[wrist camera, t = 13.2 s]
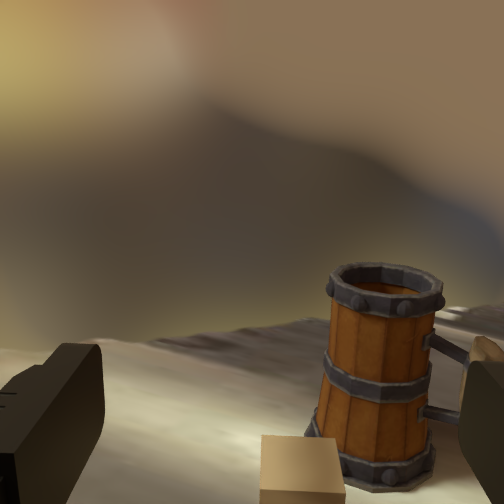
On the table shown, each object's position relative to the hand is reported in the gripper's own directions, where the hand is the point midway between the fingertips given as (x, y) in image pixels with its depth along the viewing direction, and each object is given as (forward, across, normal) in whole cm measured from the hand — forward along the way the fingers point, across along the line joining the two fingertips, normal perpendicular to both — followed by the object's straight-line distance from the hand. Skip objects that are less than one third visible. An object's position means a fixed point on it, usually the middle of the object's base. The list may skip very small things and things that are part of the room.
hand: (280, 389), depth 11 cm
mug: (+36, -14, +30) cm, 49 cm away
